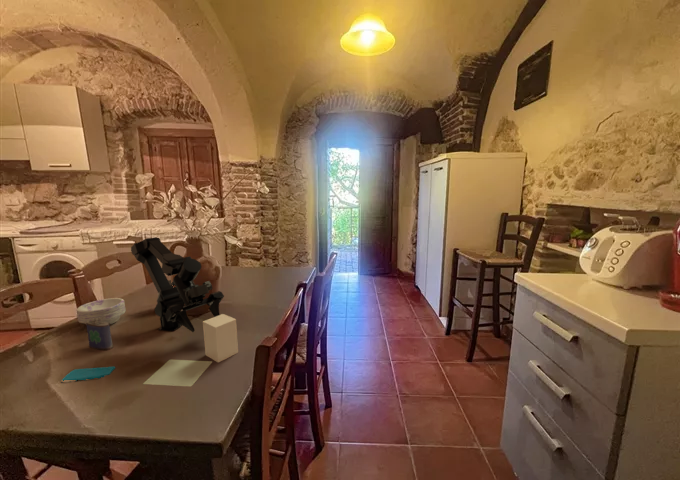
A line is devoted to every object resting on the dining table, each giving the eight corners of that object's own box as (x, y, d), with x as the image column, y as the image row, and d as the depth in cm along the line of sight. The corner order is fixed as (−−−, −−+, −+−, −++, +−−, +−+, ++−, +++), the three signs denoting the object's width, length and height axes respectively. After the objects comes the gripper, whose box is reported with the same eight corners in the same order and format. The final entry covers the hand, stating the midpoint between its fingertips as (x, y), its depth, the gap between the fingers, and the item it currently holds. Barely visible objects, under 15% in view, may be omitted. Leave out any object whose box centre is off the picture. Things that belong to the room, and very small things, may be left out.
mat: (142, 385, 83) (142, 383, 83) (170, 360, 95) (169, 359, 95) (191, 387, 82) (191, 386, 82) (212, 362, 94) (212, 361, 94)
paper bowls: (100, 314, 130) (98, 296, 129) (135, 314, 129) (133, 297, 128) (68, 331, 115) (65, 311, 114) (107, 331, 114) (104, 312, 113)
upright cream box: (205, 356, 98) (202, 321, 96) (225, 346, 104) (223, 313, 101) (218, 363, 94) (215, 327, 92) (238, 353, 99) (236, 319, 97)
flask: (114, 347, 103) (110, 317, 102) (106, 351, 101) (101, 321, 99) (94, 343, 106) (90, 314, 104) (85, 347, 103) (81, 318, 101)
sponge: (104, 378, 85) (116, 364, 91) (58, 381, 84) (73, 367, 90) (105, 383, 86) (117, 368, 91) (59, 386, 85) (74, 371, 90)
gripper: (165, 282, 94) (187, 325, 90) (219, 269, 109) (240, 305, 105) (156, 300, 100) (176, 341, 96) (208, 286, 115) (227, 320, 111)
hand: (207, 326), depth 102 cm, fingers open, 9 cm apart
